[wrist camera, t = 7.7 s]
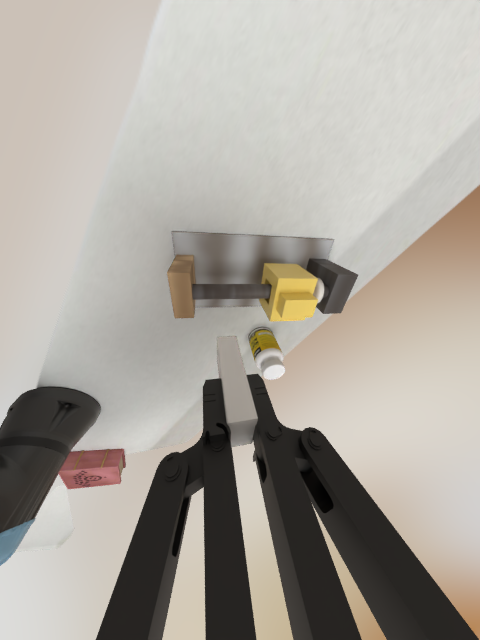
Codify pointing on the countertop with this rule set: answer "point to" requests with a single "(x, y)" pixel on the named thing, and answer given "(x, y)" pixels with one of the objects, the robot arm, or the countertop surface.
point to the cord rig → (248, 270)
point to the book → (93, 468)
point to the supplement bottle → (267, 353)
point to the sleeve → (289, 292)
